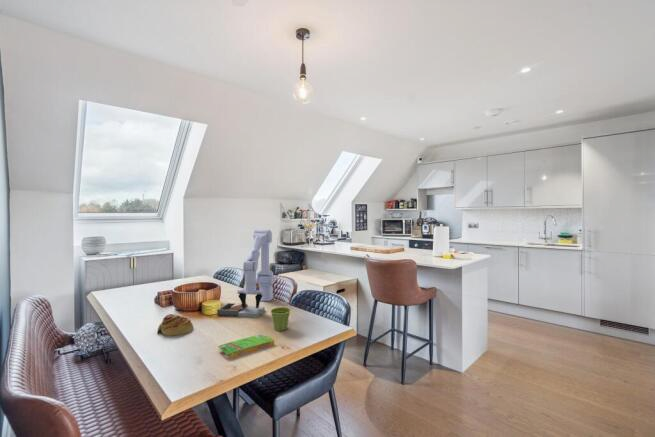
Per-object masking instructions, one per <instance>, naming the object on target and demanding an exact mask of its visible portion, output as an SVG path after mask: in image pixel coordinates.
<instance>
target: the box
mask: <svg viewBox="0 0 655 437" xmlns="http://www.w3.org/2000/svg"><path fill="white" fill-rule="evenodd" d="M234 304H235V303H232V302H231V303H229V302H228V303H226V304H225V305H223V306H221V307H220V308H218V309H217V310H216V311H217V312H216V313H217V316H220V317H221V316H222V317H235V318H236V317H238V313H239V312H240V311H241V310H243V309H244V308H245V307H244V308H243V309H241V310H231V308H230V307H231V306H233V305H234ZM247 306H248V303H246V307H247Z"/></svg>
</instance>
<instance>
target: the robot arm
mask: <svg viewBox="0 0 655 437" xmlns="http://www.w3.org/2000/svg"><path fill="white" fill-rule="evenodd" d="M252 234H253V240H254V243H253V247H252V249H250V251H249V253H248V256H247V258H246V260H245V261H244V262H243V265H242V266H243V273H244V277H245V278H244V282H245V283H244V286H245V287H244V288H245V289H238V290H237V295H238V299H240V303H241V302H242V305H243V308H244V307H246V304H247V295H255V306H256V308H259V307H260V303H261V302H271V300H273V299H274V298H275V296H274V287H273V284H274V282H275V275H274V271H272V270H271V269H270V243H272V241H273V233H272V231H271V230H270V229H255V230H254V231H253V233H252ZM260 257H261V258H260ZM259 258H260V270H259V271H258V269H259V268H258V266H259ZM257 285H258V286H259V289H257Z"/></svg>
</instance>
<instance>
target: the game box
mask: <svg viewBox="0 0 655 437" xmlns="http://www.w3.org/2000/svg"><path fill="white" fill-rule="evenodd" d="M274 345H275V339H273V338H271V337H270V336H268V335H266V334H265V333H260V334H256V335H252V336H249V337H245V338H241V339H237V340H235V341H231V342H230V341H229V342H227V343H223V344H219V345H218V346H217V348H219V350H221V352H223V353H225V354H226V355H228V356H229V357H230V358H232V359H233V358H235V357H239V356H242V355H245V354H249V353H251V352H255V351H258V350H261V349H264V348H267V347H271V346H274Z"/></svg>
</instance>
